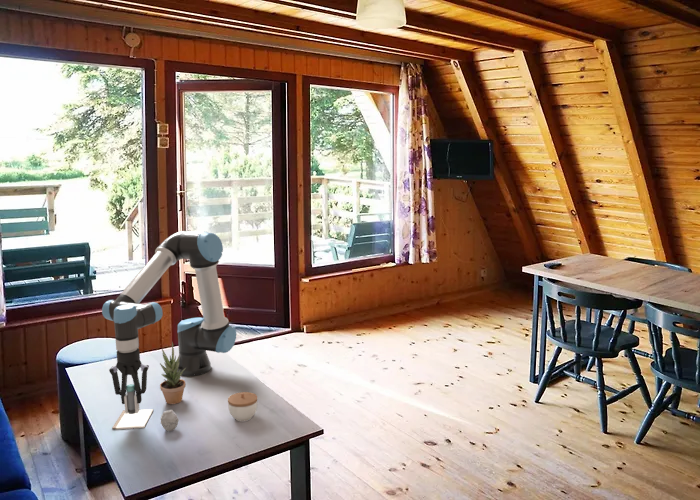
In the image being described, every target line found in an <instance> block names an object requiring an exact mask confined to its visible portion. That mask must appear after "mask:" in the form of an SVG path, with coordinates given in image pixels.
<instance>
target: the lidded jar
mask: <svg viewBox="0 0 700 500" xmlns="http://www.w3.org/2000/svg"><path fill="white" fill-rule="evenodd" d="M227 404H228V411H229V413H230V415H231V417H232V418H234V419H236V420H235V421H237V422H248V421H250V420H251V419H252V418H253V417H254V415H256V412H257V409H258V395H257V394H256V393H254V392H249V391H248V392H247V391H244V392H243V391H242V392H235V393H233V394H232V395H230V396H228V398H227ZM249 419H250V420H249ZM247 420H248V421H247Z"/></svg>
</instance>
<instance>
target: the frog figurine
mask: <svg viewBox="0 0 700 500" xmlns="http://www.w3.org/2000/svg"><path fill="white" fill-rule="evenodd" d="M160 424H161V426H162V428H163V429H164V430H165V431H167V432H173V431H174V430H176V428H178V427H177V426H178V424H179V418H178V415H177V414H176V413H175V412H174V410H173V409H168V410H165V411H163V412H162V414H161V415H160Z"/></svg>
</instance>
